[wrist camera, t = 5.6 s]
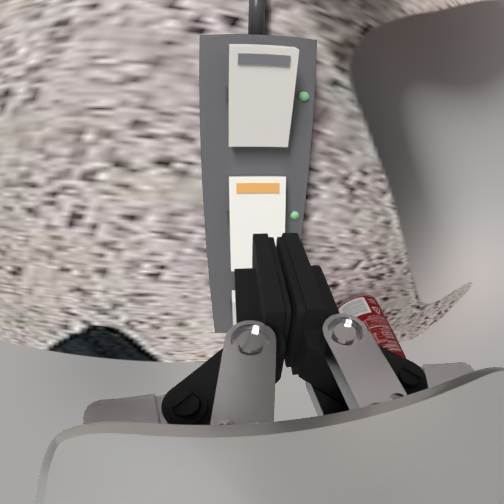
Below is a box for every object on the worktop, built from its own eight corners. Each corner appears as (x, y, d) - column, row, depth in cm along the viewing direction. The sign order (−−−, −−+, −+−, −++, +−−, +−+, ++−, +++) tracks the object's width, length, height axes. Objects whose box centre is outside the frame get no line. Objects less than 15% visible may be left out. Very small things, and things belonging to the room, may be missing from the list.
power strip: (206, -16, 14) (202, -35, 10) (303, -11, 15) (319, -28, 11) (215, 307, 33) (215, 336, 29) (282, 304, 34) (288, 333, 30)
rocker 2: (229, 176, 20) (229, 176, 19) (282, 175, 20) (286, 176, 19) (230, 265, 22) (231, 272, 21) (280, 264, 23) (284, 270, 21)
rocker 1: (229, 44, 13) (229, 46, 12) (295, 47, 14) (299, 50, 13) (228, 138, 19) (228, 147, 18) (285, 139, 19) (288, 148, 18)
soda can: (327, 299, 34) (357, 380, 24) (376, 285, 33) (417, 358, 23) (331, 331, 38) (355, 404, 28) (374, 318, 37) (405, 386, 27)
